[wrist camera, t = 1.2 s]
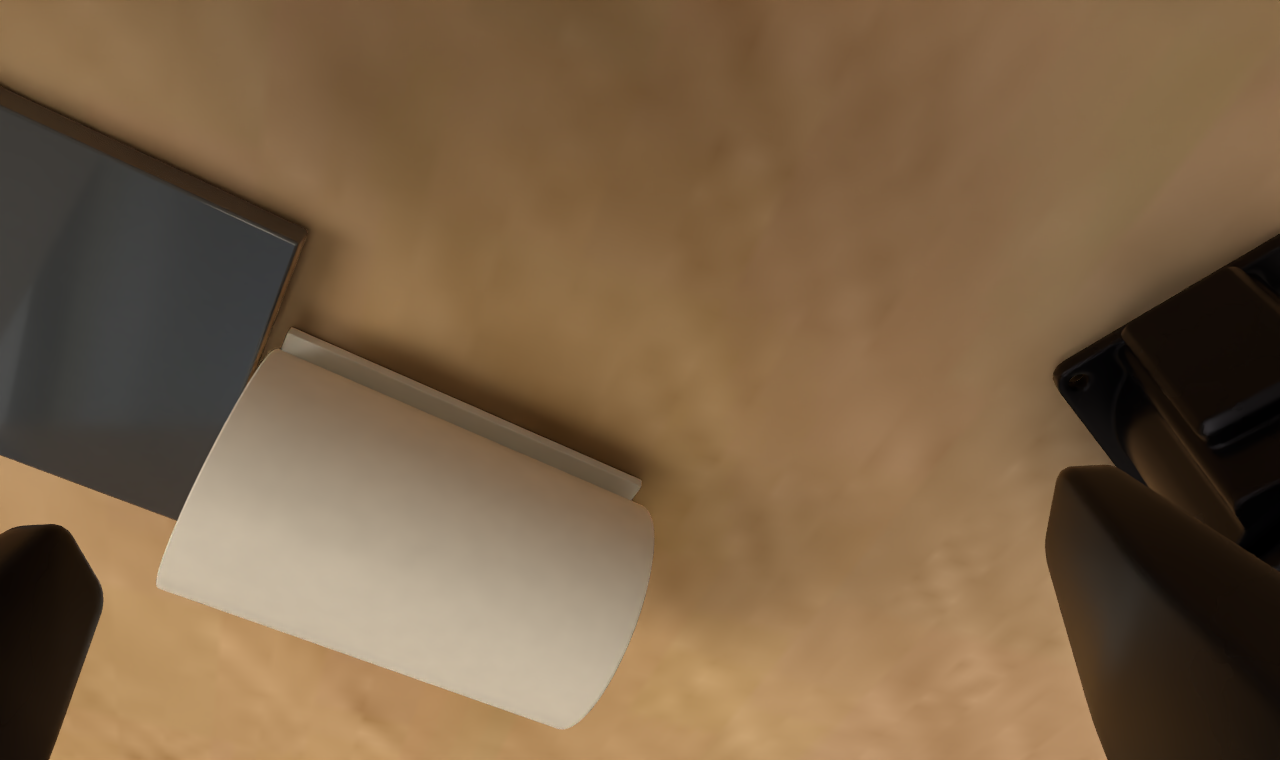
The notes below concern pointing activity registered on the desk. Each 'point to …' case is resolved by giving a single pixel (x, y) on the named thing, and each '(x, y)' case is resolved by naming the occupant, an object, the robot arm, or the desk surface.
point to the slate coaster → (125, 307)
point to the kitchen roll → (415, 535)
